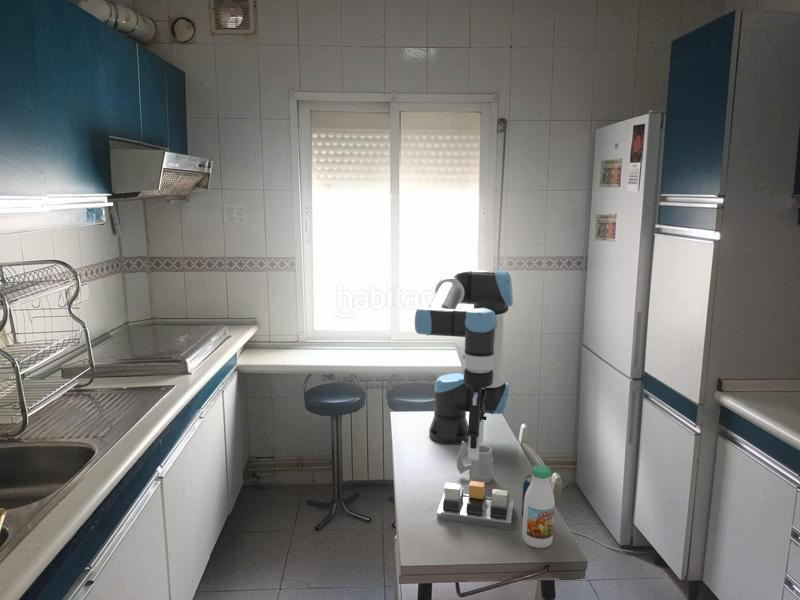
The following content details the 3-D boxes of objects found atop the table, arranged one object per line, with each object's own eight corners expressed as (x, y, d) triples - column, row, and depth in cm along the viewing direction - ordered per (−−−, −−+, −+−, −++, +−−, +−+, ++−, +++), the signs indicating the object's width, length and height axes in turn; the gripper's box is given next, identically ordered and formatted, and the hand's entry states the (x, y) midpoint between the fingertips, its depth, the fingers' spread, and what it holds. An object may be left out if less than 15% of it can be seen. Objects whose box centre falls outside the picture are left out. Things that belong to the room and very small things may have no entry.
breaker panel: (444, 497, 171) (445, 470, 170) (513, 507, 167) (514, 479, 165) (437, 519, 160) (437, 490, 158) (510, 530, 155) (512, 500, 154)
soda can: (519, 512, 164) (521, 473, 162) (543, 513, 164) (545, 473, 162) (524, 526, 157) (526, 485, 155) (549, 526, 157) (552, 485, 155)
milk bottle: (516, 540, 151) (519, 468, 147) (532, 528, 156) (536, 459, 153) (542, 553, 145) (546, 478, 142) (558, 540, 151) (562, 468, 147)
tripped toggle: (470, 492, 164) (470, 480, 164) (484, 494, 163) (484, 482, 163) (468, 497, 162) (469, 485, 161) (483, 499, 161) (483, 487, 160)
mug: (493, 484, 180) (495, 448, 178) (455, 482, 181) (456, 446, 179) (492, 473, 187) (494, 438, 185) (455, 471, 188) (457, 436, 186)
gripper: (469, 356, 161) (467, 433, 165) (457, 380, 140) (455, 467, 144) (496, 359, 159) (493, 436, 163) (489, 382, 138) (485, 471, 142)
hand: (475, 450), depth 153 cm, fingers open, 9 cm apart
